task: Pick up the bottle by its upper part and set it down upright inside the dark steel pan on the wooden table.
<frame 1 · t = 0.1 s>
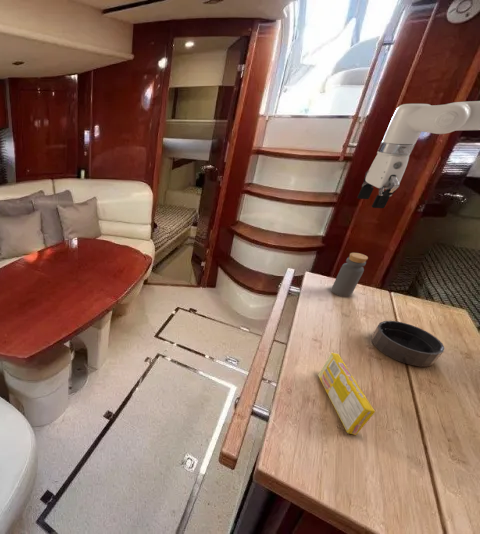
hand: (369, 203, 102), 30 cm above the table, tool pointing down, fingers open, 9 cm apart
bottle: (340, 292, 109), on the table
pan: (400, 349, 85), on the table
candy box: (335, 403, 72), on the table
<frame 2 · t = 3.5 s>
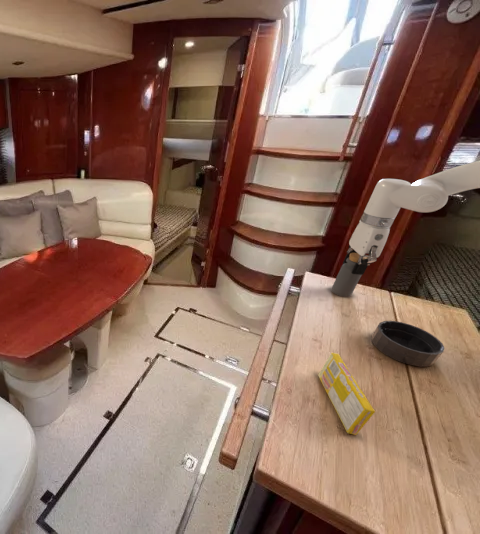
hand: (352, 268, 104), 10 cm above the table, tool pointing down, fingers closed on bottle, 5 cm apart
bottle: (340, 292, 109), on the table, touching gripper
everything else where it was.
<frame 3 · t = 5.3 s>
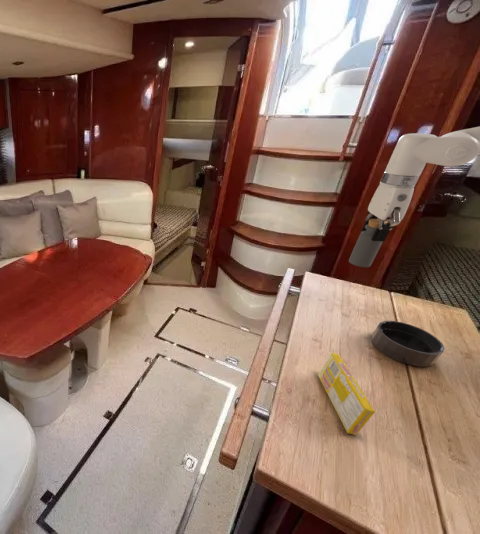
hand: (372, 236, 97), 23 cm above the table, tool pointing down, fingers closed on bottle, 5 cm apart
bottle: (359, 263, 102), point 12 cm above the table, touching gripper
everything else where it was.
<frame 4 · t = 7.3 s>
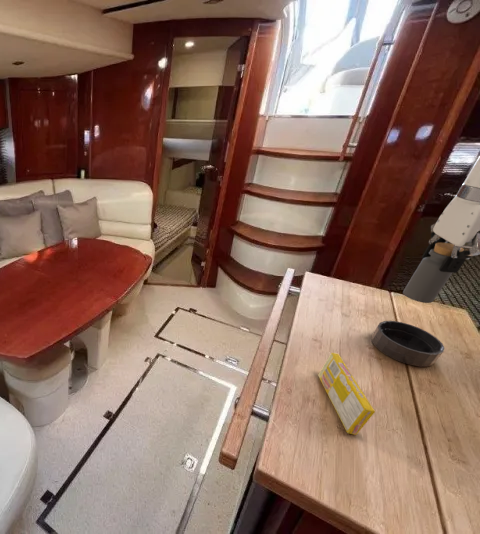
hand: (438, 264, 76), 25 cm above the table, tool pointing down, fingers closed on bottle, 5 cm apart
bottle: (417, 297, 81), point 15 cm above the table, touching gripper
everything else where it was.
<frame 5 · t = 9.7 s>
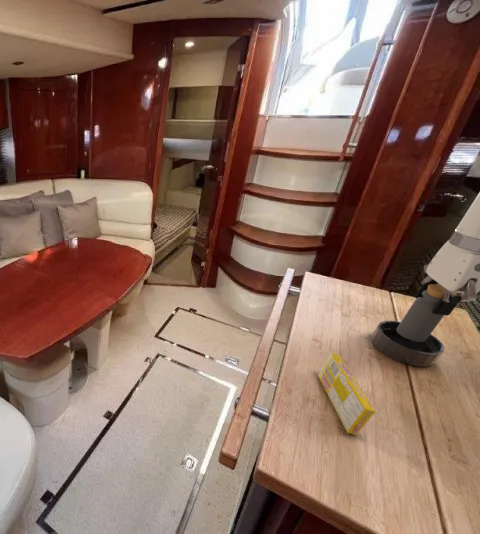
hand: (431, 305, 77), 15 cm above the table, tool pointing down, fingers closed on bottle, 5 cm apart
bottle: (410, 335, 82), point 5 cm above the table, touching gripper
everything else where it was.
when the fingers open (10 cm above the table, at t = 11.4 s): bottle stays where it is, resting on pan.
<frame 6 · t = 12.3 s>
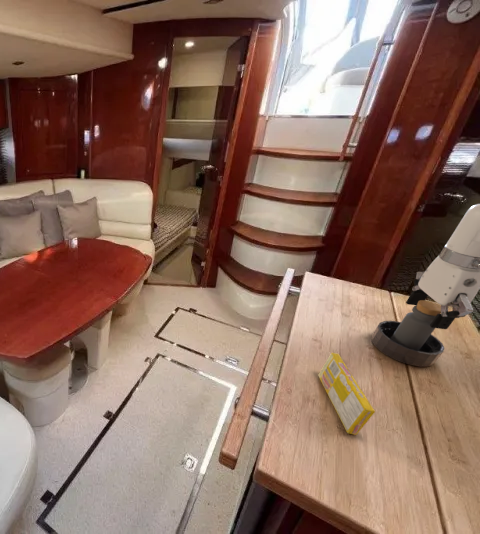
hand: (424, 315, 79), 12 cm above the table, tool pointing down, fingers open, 9 cm apart
bottle: (401, 348, 85), resting on pan
everything else where it was.
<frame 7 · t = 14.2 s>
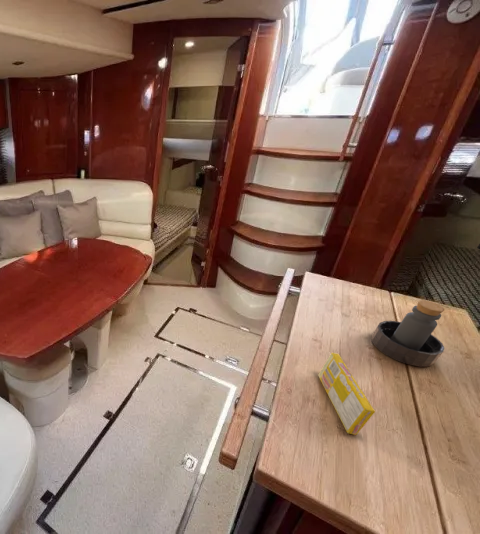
nothing on the table moved.
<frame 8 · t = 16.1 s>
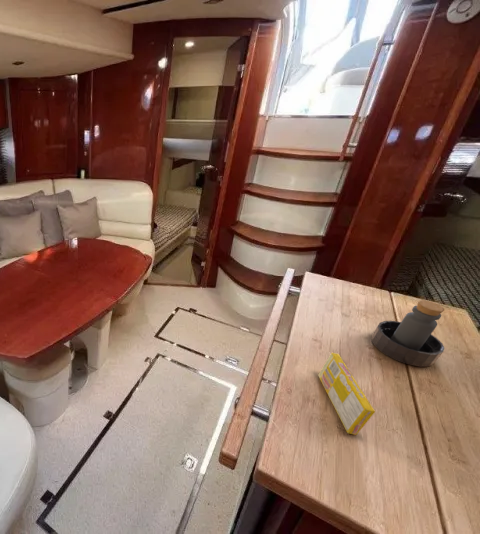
nothing on the table moved.
at the end: bottle 0.0 cm off-centre in the pan, point 0.3 cm above the pan's base; bottle tilted 0°; the gripper is holding nothing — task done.
